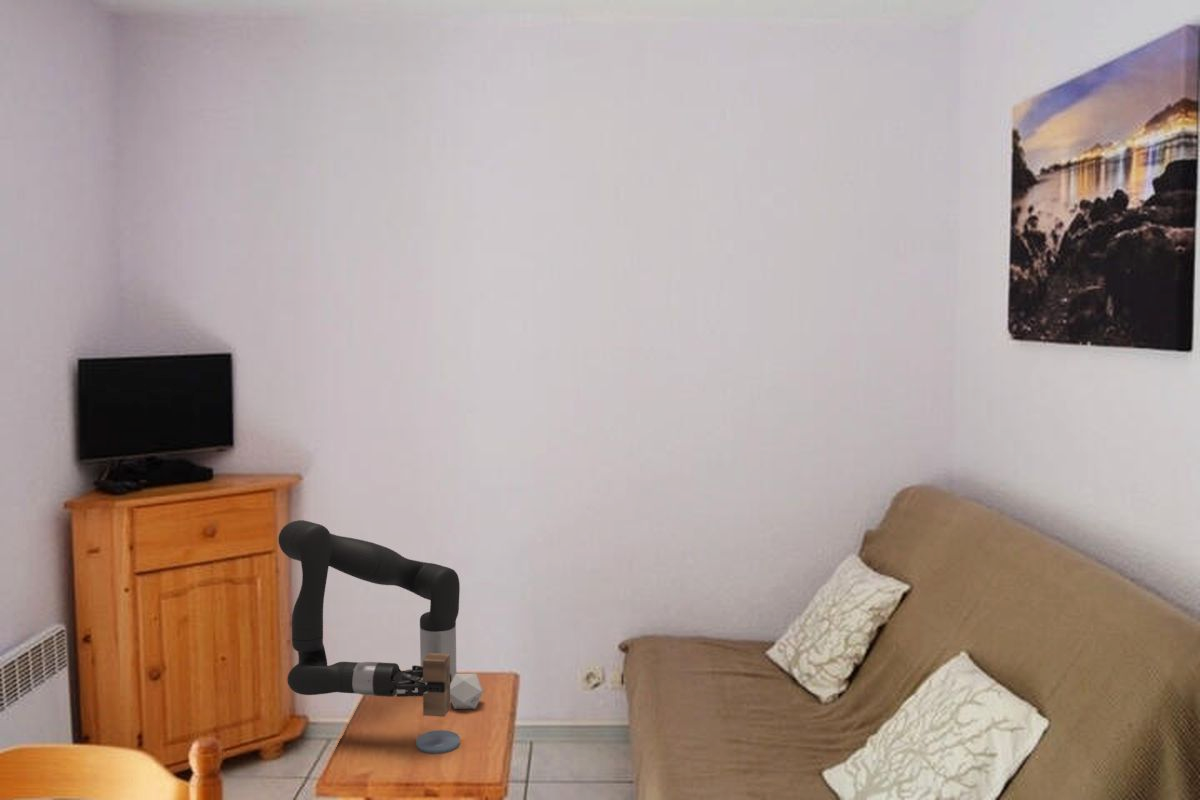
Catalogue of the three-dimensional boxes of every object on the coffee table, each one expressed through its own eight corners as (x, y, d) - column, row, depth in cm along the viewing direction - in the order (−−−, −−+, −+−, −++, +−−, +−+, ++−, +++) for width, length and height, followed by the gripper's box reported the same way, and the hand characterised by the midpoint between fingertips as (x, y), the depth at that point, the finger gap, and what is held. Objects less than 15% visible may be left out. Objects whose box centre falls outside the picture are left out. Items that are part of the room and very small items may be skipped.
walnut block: (429, 706, 254) (428, 652, 253) (450, 708, 254) (450, 654, 252) (423, 715, 249) (423, 660, 248) (444, 716, 249) (444, 661, 247)
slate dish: (415, 737, 256) (415, 732, 256) (458, 733, 258) (458, 728, 258) (417, 755, 247) (416, 750, 247) (461, 751, 249) (461, 746, 249)
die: (467, 719, 268) (489, 683, 271) (437, 699, 269) (459, 663, 272) (471, 718, 277) (492, 683, 279) (441, 698, 278) (463, 664, 280)
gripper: (366, 674, 245) (440, 678, 243) (385, 652, 259) (455, 656, 257) (366, 706, 246) (440, 710, 244) (385, 683, 260) (455, 687, 258)
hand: (447, 682), depth 250 cm, fingers closed on walnut block, 5 cm apart
